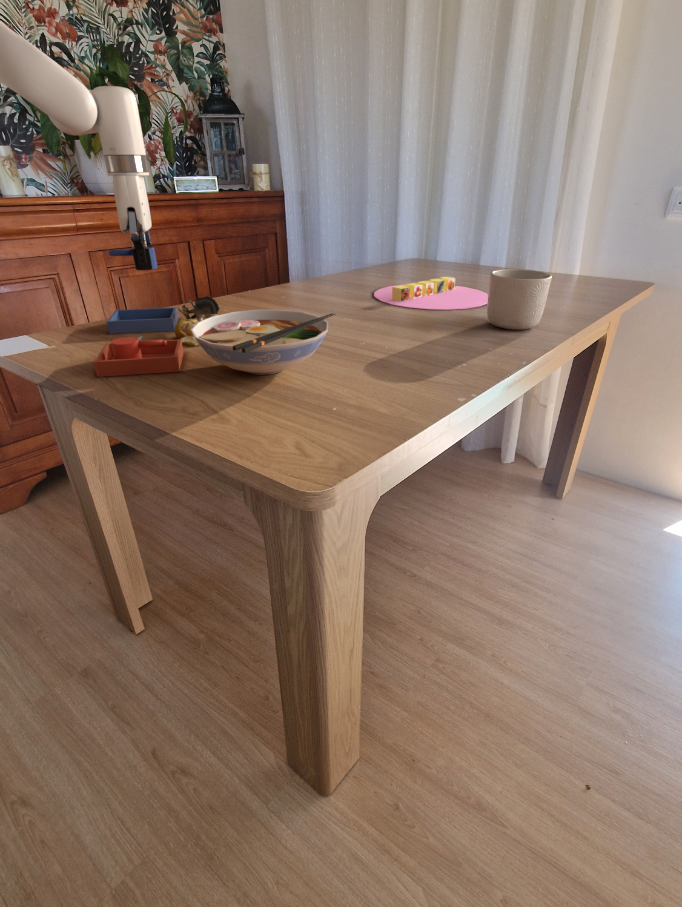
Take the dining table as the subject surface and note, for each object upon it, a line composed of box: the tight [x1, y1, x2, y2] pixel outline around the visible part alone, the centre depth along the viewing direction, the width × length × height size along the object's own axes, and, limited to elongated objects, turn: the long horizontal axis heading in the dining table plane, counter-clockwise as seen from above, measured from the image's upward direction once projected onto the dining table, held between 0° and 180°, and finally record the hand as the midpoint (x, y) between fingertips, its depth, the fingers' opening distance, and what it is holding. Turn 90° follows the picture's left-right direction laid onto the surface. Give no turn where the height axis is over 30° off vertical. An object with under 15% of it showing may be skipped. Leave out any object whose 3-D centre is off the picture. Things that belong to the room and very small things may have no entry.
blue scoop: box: [108, 246, 158, 270], centre depth 102 cm, size 9×4×4 cm, turn 101°
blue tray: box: [106, 306, 179, 335], centre depth 109 cm, size 13×10×3 cm
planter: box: [486, 268, 553, 331], centre depth 108 cm, size 12×12×11 cm
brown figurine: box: [177, 295, 221, 322], centre depth 109 cm, size 8×7×9 cm
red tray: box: [93, 339, 185, 378], centre depth 87 cm, size 13×10×3 cm
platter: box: [373, 276, 489, 311], centre depth 136 cm, size 32×32×3 cm
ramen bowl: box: [191, 309, 336, 376], centre depth 84 cm, size 25×23×8 cm
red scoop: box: [110, 336, 167, 360], centre depth 87 cm, size 9×4×4 cm, turn 101°
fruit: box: [173, 318, 200, 347], centre depth 100 cm, size 8×8×4 cm
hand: (146, 266), depth 104 cm, fingers closed on blue scoop, 4 cm apart
